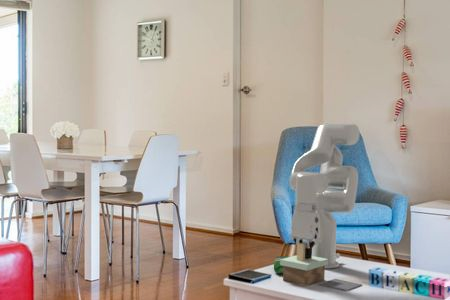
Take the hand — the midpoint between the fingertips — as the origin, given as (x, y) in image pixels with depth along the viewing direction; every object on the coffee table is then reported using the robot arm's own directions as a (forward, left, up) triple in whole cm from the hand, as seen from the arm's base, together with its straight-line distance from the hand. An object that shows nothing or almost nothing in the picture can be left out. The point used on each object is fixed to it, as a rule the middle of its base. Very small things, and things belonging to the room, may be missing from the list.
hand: (304, 257), depth 210 cm
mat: (-4, +13, -8) cm, 16 cm away
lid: (0, 0, -3) cm, 3 cm away
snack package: (-6, -13, -9) cm, 17 cm away
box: (0, 0, -8) cm, 8 cm away
